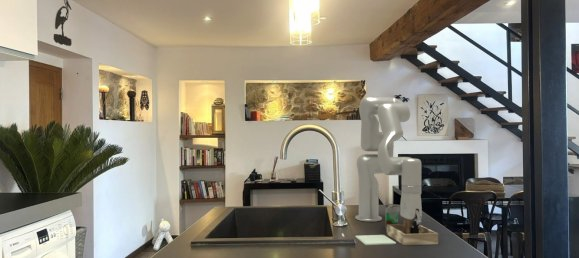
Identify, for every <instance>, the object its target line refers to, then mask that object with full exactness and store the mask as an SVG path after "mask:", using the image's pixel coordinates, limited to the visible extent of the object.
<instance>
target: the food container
mask: <svg viewBox="0 0 579 258" xmlns="http://www.w3.org/2000/svg"><path fill="white" fill-rule="evenodd" d="M384 205H385V208H384V209H385V211H384V213H385V214H384V216H385V218H384V219H385V221H384V223H385V224H384V225H385V231H386V232H387V225H395V224H399V214H400V205H398V204H394V203H385V204H384Z"/></svg>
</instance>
